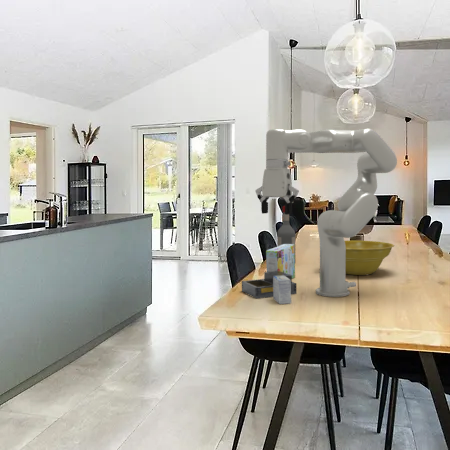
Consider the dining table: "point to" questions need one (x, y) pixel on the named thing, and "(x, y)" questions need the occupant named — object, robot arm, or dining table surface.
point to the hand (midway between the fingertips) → (276, 213)
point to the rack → (265, 285)
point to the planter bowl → (365, 256)
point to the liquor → (286, 232)
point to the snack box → (281, 259)
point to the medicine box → (282, 289)
